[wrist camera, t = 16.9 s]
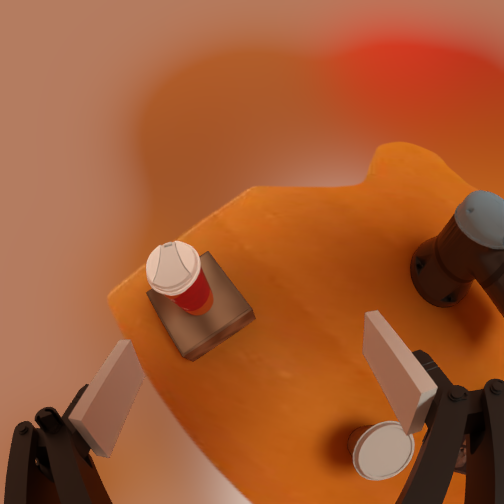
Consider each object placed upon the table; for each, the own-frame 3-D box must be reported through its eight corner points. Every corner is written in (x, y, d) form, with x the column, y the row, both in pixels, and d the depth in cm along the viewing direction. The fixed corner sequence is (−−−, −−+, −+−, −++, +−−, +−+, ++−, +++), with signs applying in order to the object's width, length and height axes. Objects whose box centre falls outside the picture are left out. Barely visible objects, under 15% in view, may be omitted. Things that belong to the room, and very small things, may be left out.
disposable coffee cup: (329, 458, 38) (343, 475, 27) (351, 411, 41) (372, 414, 31) (375, 470, 35) (400, 486, 25) (396, 423, 39) (426, 428, 28)
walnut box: (214, 265, 58) (207, 250, 52) (255, 318, 52) (252, 308, 46) (158, 303, 55) (145, 292, 49) (193, 361, 49) (182, 356, 43)
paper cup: (174, 285, 50) (141, 245, 37) (215, 275, 50) (193, 231, 38) (180, 326, 46) (144, 297, 33) (224, 316, 46) (202, 283, 34)
